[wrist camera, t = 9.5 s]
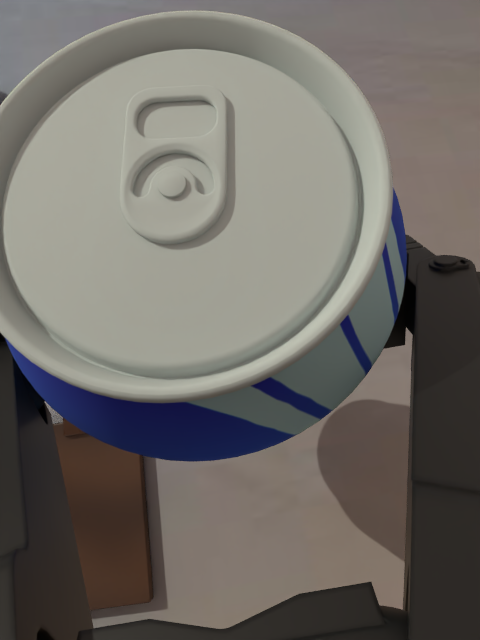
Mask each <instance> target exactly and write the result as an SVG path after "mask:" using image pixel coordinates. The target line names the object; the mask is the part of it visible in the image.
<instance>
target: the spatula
mask: <svg viewBox="0 0 480 640" xmlns="http://www.w3.org/2000/svg"><path fill="white" fill-rule="evenodd" d="M53 429H54V434H55V439H56V444H57V449H58V454H59V459H60V463H61V468H62V473H63V478H64V483H65V488H66V493H67V498H68V503H69V508H70V513H71V518H72V523H73V528H74V533H75V538H76V543H77V548H78V553H79V558H80V563H81V568H82V573H83V578H84V583H85V588H86V593H87V598H88V603H89V608H90V610H95V609H103V608H110V607H118V606H126V605H133V604H141V603H148V602H151V600H152V599H153V586H152V573H151V560H150V546H149V533H148V519H147V506H146V493H145V479H144V466H143V455H139V454H135V453H132V452H128V451H124V450H122V449H119V448H117V447H114V446H111V445H109V444H106V443H104V442H102V441H100V440H98V439H96V438H94V437H92V436H90V435H88V434H87V433H85V432H83V431H82V430H80V429H79V428H77V427H76V426H74V425H73V424H71V423H70V422H68V421H67V420H66V419H65V418H63V423H57V424H53Z"/></svg>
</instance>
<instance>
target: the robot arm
mask: <svg viewBox="0 0 480 640" xmlns="http://www.w3.org/2000/svg"><path fill="white" fill-rule="evenodd" d="M405 237H406V253H407V263H406V279H405V285H404V292H403V297H402V301H401V305H400V308H399V312H398V316H397V319H396V321H395V324H394V326H393V329H392V331H391V334H390V336H389V338H388V340H387V342H386V344H385V346H384V348H390V347H395V346H401V345H405V332H406V327H407V328H408V330H409V331H410V332H411V333H412V334H413V341H412V359H411V396H410V425H409V455H408V484H407V514H406V543H405V573H404V598H403V610H401V609H397V608H394V607H387V606H380V605H379V604H378V601H377V598H376V595H375V592H374V589H373V586H372V583H371V582H367V583H361V584H355V585H349V586H343V587H338V588H332V589H326V590H320V591H314V592H308V593H302V594H298V595H296V596H294V597H292V598H290V599H288V600H285V601H283V602H281V603H279V604H277V605H275V606H273V607H271V608H269V609H267V610H265V611H263V612H261V613H259V614H257V615H255V616H253V617H251V618H248V619H246V620H244V621H242V622H240V623H238V624H236V625H234V626H232V627H229V628H226V629H214V628H207V627H201V626H194V625H187V624H180V623H173V622H166V621H159V620H152V619H147V620H141V621H135V622H129V623H123V624H118V625H112V626H106V627H100V628H93V623H92V618H91V613H90V608H89V603H88V598H87V593H86V588H85V583H84V578H83V573H82V568H81V563H80V558H79V553H78V548H77V543H76V538H75V533H74V528H73V523H72V518H71V513H70V508H69V503H68V498H67V493H66V488H65V483H64V478H63V473H62V468H61V463H60V459H59V454H58V449H57V444H56V439H55V434H54V429H53V424H52V419H51V414H50V412H49V410H48V408H47V406H46V404H45V403H44V401H45V400H44V399H43V398H42V397H41V396H40V395H39V394H38V393H37V391H36V390H35V389H34V387H33V386H32V385H31V383H30V382H29V381H28V379H27V378H26V377H25V375H24V374H23V373H22V371H21V369H20V368H19V366H18V364H17V362H16V361H15V359H14V357H13V356H12V353H11V351H10V349H9V347H8V344H7V342H6V340H5V337H4V336H3V335H2V334H1V333H0V640H480V272H476V268H475V265H474V264H473V262H472V261H470V260H468V259H466V258H463V257H458V256H451V255H440V256H436V255H435V254H433V253H432V252H430V251H429V250H428V249H426V248H425V247H423V246H422V245H421V244H420V243H418V242H417V241H416V240H414V239H413V238H411V237H410V236H409V235H405ZM384 348H383V349H384Z"/></svg>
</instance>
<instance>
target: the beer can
mask: <svg viewBox="0 0 480 640" xmlns="http://www.w3.org/2000/svg"><path fill="white" fill-rule="evenodd" d="M406 263H407V253H406V237H405V229H404V224H403V218H402V213H401V209H400V206H399V202H398V199H397V196H396V193H395V191H394V188H393V179H392V169H391V163H390V157H389V151H388V148H387V144H386V141H385V137H384V134H383V131H382V129H381V126H380V124H379V122H378V119H377V117H376V115H375V113H374V111H373V109H372V107H371V106H370V104H369V102H368V100H367V99H366V97H365V96H364V94H363V93H362V92H361V90H360V89H359V87H358V86H357V85H356V83H355V82H354V81H353V80H352V79H351V78H350V76H349V75H348V74H347V73H346V72H345V71H344V70H343V69H342V68H341V67H340V66H339V65H338V64H337V63H336V62H335V61H334V60H333V59H331V58H330V57H329V56H327V55H326V54H325V53H324V52H322V51H321V50H320V49H318V48H317V47H315V46H314V45H312V44H311V43H309V42H307V41H306V40H304V39H303V38H301V37H299V36H297V35H295V34H293V33H291V32H289V31H287V30H285V29H282V28H280V27H277V26H275V25H272V24H270V23H267V22H264V21H260V20H257V19H254V18H250V17H245V16H241V15H236V14H230V13H223V12H215V11H174V12H164V13H157V14H151V15H146V16H140V17H137V18H133V19H129V20H125V21H122V22H119V23H116V24H113V25H110V26H107V27H104V28H102V29H100V30H97V31H95V32H93V33H90V34H88V35H86V36H84V37H82V38H80V39H78V40H76V41H75V42H73V43H71V44H69V45H68V46H66V47H64V48H63V49H61V50H60V51H58V52H56V53H55V54H53V55H52V56H51V57H49V58H48V59H47V60H45V61H44V62H43V63H41V64H40V65H39V66H38V67H36V68H35V69H34V70H33V71H32V72H31V73H30V74H28V75H27V76H26V77H25V78H24V79H23V80H22V81H21V82H20V83H19V84H18V85H17V86H16V87H15V88H14V89H13V90H12V92H11V93H10V94H9V95H8V96H7V98H6V99H5V100H4V101H3V102H2V103H1V105H0V333H1V334H2V335H3V336H4V337H5V340H6V342H7V344H8V347H9V349H10V351H11V353H12V356H13V357H14V359H15V361H16V362H17V364H18V366H19V368H20V369H21V371H22V373H23V374H24V375H25V377H26V378H27V379H28V381H29V382H30V383H31V385H32V386H33V387H34V389H35V390H36V391H37V393H38V394H39V395H40V396H41V397H42V398H43V399H44V400H45V401H46V402H47V403H48V404H49V405H50V406H51V407H52V408H53V409H54V410H55V411H56V412H57V413H59V414H60V415H61V416H62V417H63V418H65V419H66V420H67V421H68V422H70V423H71V424H73V425H74V426H76V427H77V428H79V429H80V430H82V431H83V432H85V433H87V434H88V435H90V436H92V437H94V438H96V439H98V440H100V441H102V442H104V443H106V444H109V445H111V446H114V447H117V448H119V449H122V450H124V451H128V452H132V453H135V454H139V455H143V456H147V457H153V458H159V459H165V460H175V461H211V460H220V459H226V458H233V457H238V456H242V455H246V454H250V453H253V452H257V451H260V450H263V449H266V448H268V447H271V446H274V445H276V444H279V443H281V442H283V441H285V440H287V439H289V438H291V437H293V436H295V435H297V434H299V433H301V432H303V431H304V430H306V429H307V428H309V427H310V426H312V425H314V424H315V423H317V422H318V421H320V420H321V419H322V418H324V417H325V416H326V415H327V414H329V413H330V412H331V411H332V410H334V409H335V408H336V407H337V406H338V405H339V404H340V403H341V402H342V401H343V400H344V399H346V398H347V397H348V396H349V395H350V394H351V393H352V392H353V390H354V389H355V388H356V387H357V386H358V384H359V383H360V382H361V381H362V380H363V378H364V377H365V376H366V375H367V373H368V372H369V370H370V369H371V367H372V366H373V364H374V363H375V361H376V360H377V358H378V357H379V355H380V354H381V352H382V350H383V348H384V346H385V344H386V342H387V340H388V338H389V336H390V334H391V331H392V329H393V326H394V324H395V321H396V319H397V316H398V312H399V308H400V305H401V301H402V297H403V292H404V285H405V279H406Z"/></svg>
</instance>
